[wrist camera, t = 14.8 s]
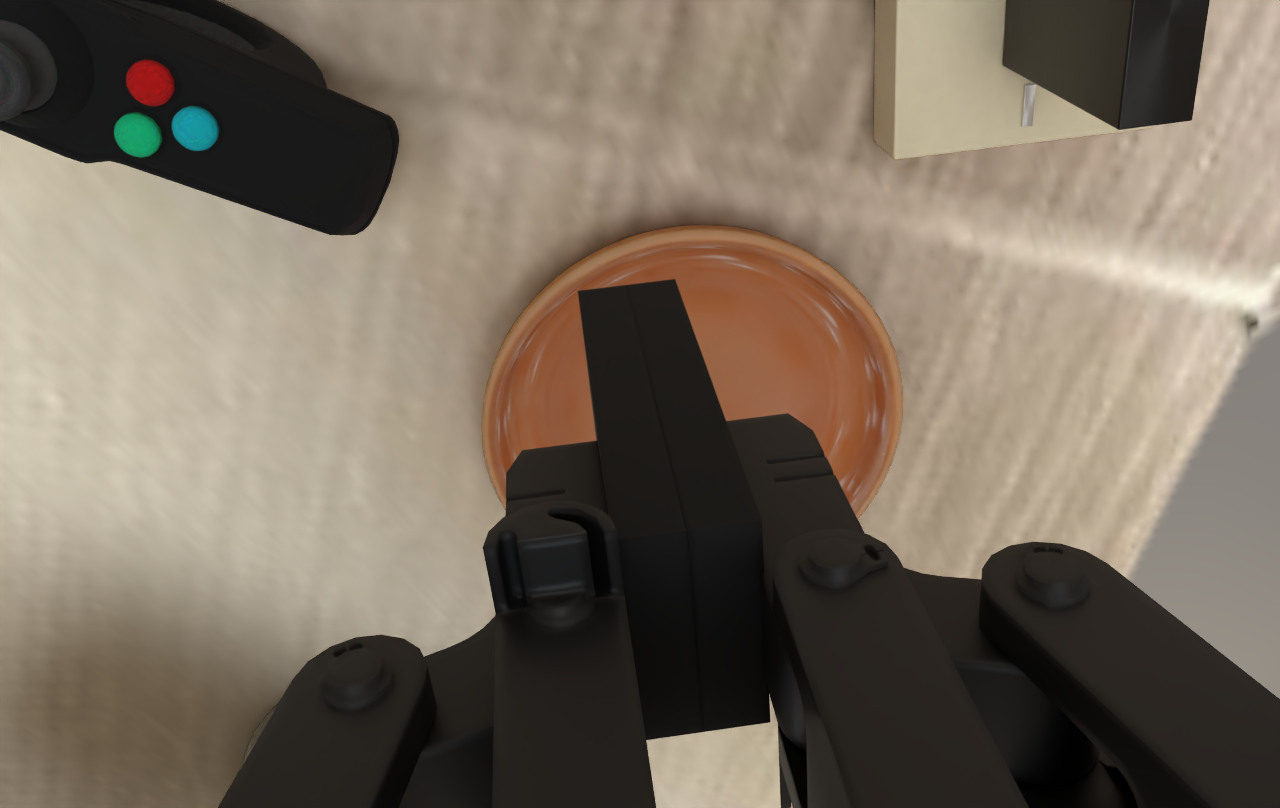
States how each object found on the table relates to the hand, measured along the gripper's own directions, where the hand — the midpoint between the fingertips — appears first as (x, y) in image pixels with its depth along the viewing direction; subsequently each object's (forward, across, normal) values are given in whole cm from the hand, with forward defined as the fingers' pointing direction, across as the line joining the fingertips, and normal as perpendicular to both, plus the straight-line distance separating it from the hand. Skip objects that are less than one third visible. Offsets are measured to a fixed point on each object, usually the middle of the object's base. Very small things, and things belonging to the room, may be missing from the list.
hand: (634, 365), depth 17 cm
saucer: (+23, +3, -13) cm, 26 cm away
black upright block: (+20, +15, +2) cm, 25 cm away
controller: (+23, -11, +2) cm, 25 cm away
